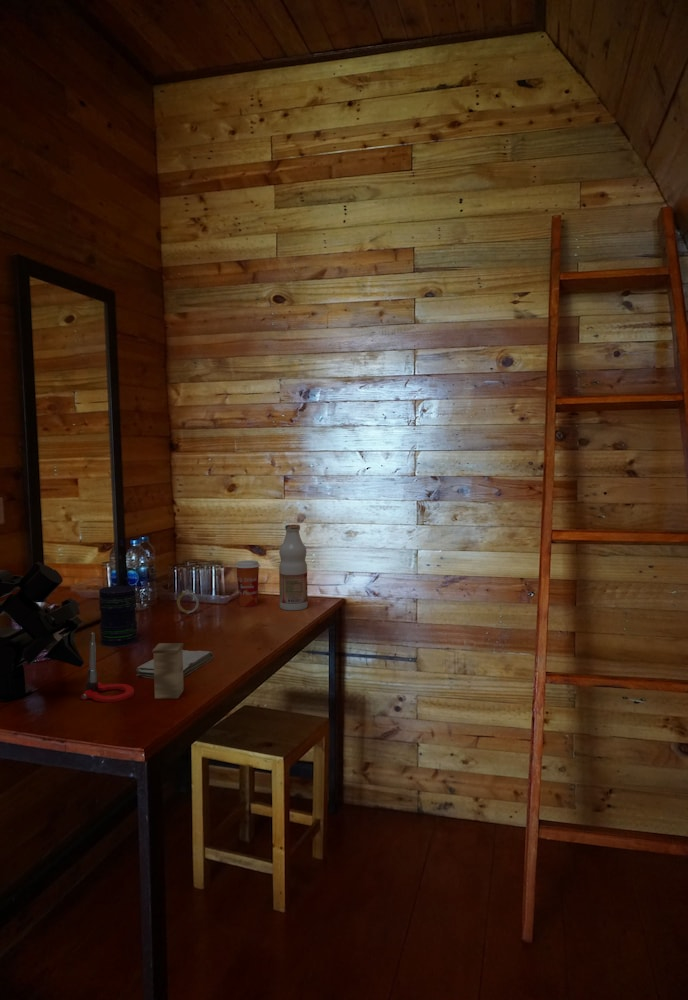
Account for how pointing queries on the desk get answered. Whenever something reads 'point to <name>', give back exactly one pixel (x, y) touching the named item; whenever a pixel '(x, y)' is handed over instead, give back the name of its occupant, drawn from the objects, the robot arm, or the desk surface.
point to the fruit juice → (293, 571)
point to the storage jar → (118, 615)
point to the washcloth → (190, 663)
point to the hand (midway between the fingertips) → (82, 665)
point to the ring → (183, 595)
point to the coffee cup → (248, 582)
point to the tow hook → (98, 686)
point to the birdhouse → (168, 670)
